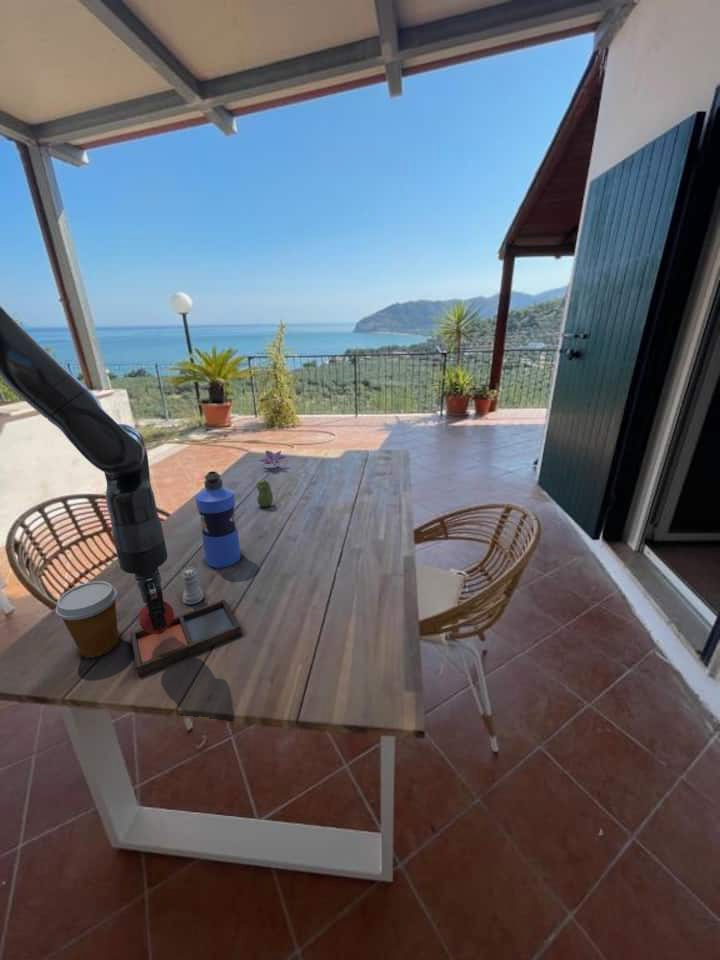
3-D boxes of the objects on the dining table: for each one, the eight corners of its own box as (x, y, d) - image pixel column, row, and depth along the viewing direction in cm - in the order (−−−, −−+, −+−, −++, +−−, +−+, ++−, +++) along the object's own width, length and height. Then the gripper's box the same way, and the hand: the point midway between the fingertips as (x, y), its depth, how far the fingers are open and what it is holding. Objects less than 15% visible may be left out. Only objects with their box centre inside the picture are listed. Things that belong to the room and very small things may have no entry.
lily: (292, 469, 182) (286, 449, 183) (285, 466, 171) (279, 446, 171) (268, 476, 183) (262, 457, 184) (259, 475, 172) (253, 454, 172)
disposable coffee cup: (97, 669, 71) (81, 616, 67) (58, 657, 73) (40, 605, 69) (138, 634, 79) (127, 584, 75) (102, 624, 82) (89, 576, 78)
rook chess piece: (194, 591, 93) (189, 562, 90) (208, 596, 91) (203, 567, 88) (179, 602, 89) (173, 572, 86) (193, 608, 87) (187, 577, 84)
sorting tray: (139, 676, 69) (136, 667, 69) (132, 640, 78) (129, 632, 77) (241, 634, 79) (240, 626, 79) (225, 606, 88) (224, 598, 87)
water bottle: (207, 571, 101) (193, 481, 92) (204, 554, 109) (191, 469, 100) (243, 563, 105) (233, 475, 96) (238, 547, 112) (228, 465, 104)
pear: (267, 510, 136) (265, 483, 133) (254, 508, 138) (252, 481, 135) (276, 504, 141) (274, 478, 138) (263, 502, 143) (261, 476, 140)
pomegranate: (137, 635, 74) (128, 600, 72) (166, 618, 79) (159, 585, 76) (153, 648, 71) (145, 612, 68) (182, 630, 76) (176, 596, 73)
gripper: (111, 529, 71) (130, 605, 77) (118, 565, 60) (139, 650, 66) (156, 519, 75) (170, 591, 81) (171, 551, 64) (186, 632, 70)
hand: (156, 617), depth 74 cm, fingers closed on pomegranate, 6 cm apart
